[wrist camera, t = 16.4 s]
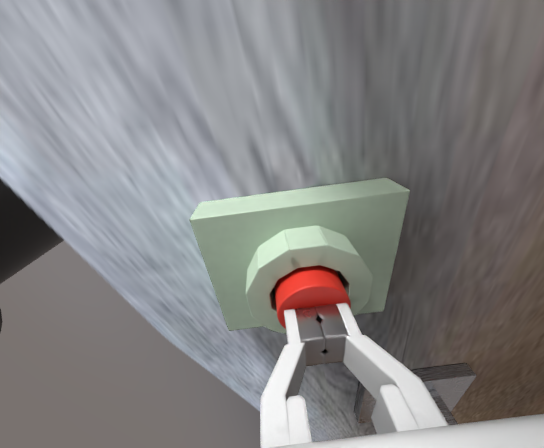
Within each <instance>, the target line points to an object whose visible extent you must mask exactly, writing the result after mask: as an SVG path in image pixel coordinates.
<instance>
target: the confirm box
mask: <svg viewBox="0 0 544 448" xmlns="http://www.w3.org/2000/svg"><path fill="white" fill-rule="evenodd" d="M409 193H410V190H408V189H406V188H404V187H403V186H401V185H399V184H397V183H395V182H393V181H392V180H390V179H388V178H380V179H372V180H365V181H357V182H350V183H342V184H335V185H327V186H320V187H312V188H305V189H297V190H289V191H282V192H274V193H267V194H259V195H252V196H244V197H237V198H229V199H222V200H214V201H207V202H200V203H199V205H198V207H197V208H196V210H195V211H194V213H193V215H192V216H191V218H190V223H191V225H192V228H193V231H194V234H195V237H196V240H197V242H198V245H199V248H200V251H201V254H202V256H203V259H204V262H205V265H206V268H207V271H208V273H209V276H210V279H211V282H212V285H213V288H214V290H215V293H216V296H217V299H218V302H219V304H220V307H221V310H222V313H223V316H224V319H225V321H226V324H227V327H228V330H229V331H233V330H240V329H248V328H256V327H264V326H265V327H266V328H268V329H269V330H271V331H275V332H279V333H284V334H286V329H285V328H284V327H283V326H282V325H281V324H280V322H279V320H278V317H277V309H276V298H275V284H276V282H277V281H278V279H280V278H282V277H283V276H285V275H287V274H288V273H290V272H292V271H293V270H295V269H297V268H302V267H310V266H317V265H321V266H325V267H328V268H331V269H334V270H335V271H336V272H337V274H338V276H339V278H340V280H341V282H342V284H343V286H344V288H345V290H346V292H347V295H348V297H349V299H350V302H351V309H350V310H351V312H352V314H353V316H355V315H356V314H364V313H372V312H379V311H384V307H385V302H386V298H387V293H388V289H389V284H390V280H391V275H392V270H393V266H394V261H395V257H396V252H397V248H398V243H399V239H400V234H401V229H402V225H403V220H404V216H405V211H406V207H407V202H408V197H409Z"/></svg>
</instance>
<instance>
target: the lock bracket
mask: <svg viewBox="0 0 544 448" xmlns="http://www.w3.org/2000/svg"><path fill="white" fill-rule="evenodd" d="M410 371H411V372H413V373H414V374H415V375H416V376H418V377H419V378H420V379H421V380H422V382H423V383H424V385H425V386H426V388H427V390H428V391H429V393H430V395H431V396H432V398H433V400H434V401H435V403H436V405H437V406H438V408H439V410H440V411H441V413H442V415H443V416H444V418H445V420H446V421H447V423H448V425H457V424H458V423H457V422H456V420H455V418H454V417H453V415H452V414H451V411H452V410H453V408H454V407H455V405H456V404H457V403H458V401H459V400H460V398H461V397H462V396H463V394H464V393H465V391H466V390H467V389H468V387H469V386H470V384H471V383H472V382H473V380H474V379H475V377H476V374H475V373H474V372H473V371H472V369H471V368H470V367H469V366H468V364H467V363H462V364H454V365H447V366H439V367H431V368H423V369H415V370H410ZM376 401H377V400H376V399H375V398H374V397H373V396H372V395H371V394H370V392H369V391H368V390H367V389H366V388H365V387H364V386H363V385H362V383H361V382H360V381H359V385H358V391H357V396H356V402H355V408H354V413H355V416H356V419H357V422H358V423H365V422H372V419H371V416H372V413H373V410H374V407H375V404H376Z"/></svg>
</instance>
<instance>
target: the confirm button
mask: <svg viewBox="0 0 544 448" xmlns="http://www.w3.org/2000/svg"><path fill="white" fill-rule="evenodd" d="M275 298H276V309H277V317H278V320H279V322H280V324H281V325H282V326H283V327H284V328H285V329H286V325H285V316H284V310H290V309H299V308H310V307H315V306H323V305H330V304H340V303H347V304H348V306H349V308H350V309H351V302H350V299H349V297H348V295H347V292H346V290H345V288H344V286H343V284H342V282H341V280H340V278H339V276H338V274H337V272H336V271H335V270H334V269H331V268H328V267H325V266H321V265H317V266H310V267H302V268H297V269H295V270H293V271H292V272H290V273H288V274H287V275H285V276H283V277H282V278H280V279H278V281H277V282H276V284H275Z"/></svg>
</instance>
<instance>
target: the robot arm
mask: <svg viewBox="0 0 544 448" xmlns="http://www.w3.org/2000/svg"><path fill="white" fill-rule="evenodd" d="M284 316H285V325H286V334H287V342H288V344H286V345H285V346H284V348H283V350H282V352H281V355H280V357H279V359H278V361H277V363H276V366H275V368H274V370H273V372H272V374H271V376H270V379H269V381H268V383H267V385H266V387H265V390H264V392H263V394H262V396H261V398H260V414H261V415H260V422H261V423H260V424H261V425H260V426H261V428H260V431H261V448H544V414H538V415H530V416H522V417H514V418H506V419H498V420H489V421H481V422H473V423H465V424H457V425H448V423H447V421H446V420H445V418H444V416H443V415H442V413H441V411H440V410H439V408H438V406H437V405H436V403H435V401H434V400H433V398H432V396H431V395H430V393H429V391H428V390H427V388H426V386H425V385H424V383H423V382H422V380H421V379H420V378H419V377H418V376H416V375H415V374H414V373H413V372H411V371H410V370H409V369H408V368H406V367H405V366H404V365H403V364H401V363H400V362H399V361H398V360H396V359H395V358H394V357H393V356H391V355H390V354H389V353H388V352H386V351H385V350H384V349H383V348H381V347H380V346H379V345H378V344H376V343H375V342H374V341H373V340H371V339H370V338H369V337H368V336H366V335H362V333H361V331H360V329H359V327H358V325H357V323H356V321H355V318H354V316H353V314H352V312H351V310H350V308H349V306H348V304H347V303H340V304H330V305H323V306H315V307H310V308H299V309H290V310H284ZM335 362H343V363H344V364H345V365H346V366H347V368H348V369H349V370H350V371H351V372H352V373H353V374H354V376H355V377H356V378H357V379H358V380H359V381H360V382H361V383H362V385H363V386H364V387H365V388H366V389H367V390H368V391H369V392H370V394H371V395H372V396H373V397H374V398H375V399H376V400H377V401H376V404H375V407H374V410H373V413H372V416H371V419H372V422H373V424H374V427H375V430H376V433H377V434H375V435H367V436H359V437H350V438H342V439H334V440H326V441H318V442H312V439H311V433H310V427H309V421H308V415H307V409H306V403H305V399H304V398H303V397H302V396H301V395H298V392H299V389H300V386H301V382H302V379H303V376H304V373H305V369H306V366H311V365H318V364H324V363H335Z"/></svg>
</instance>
